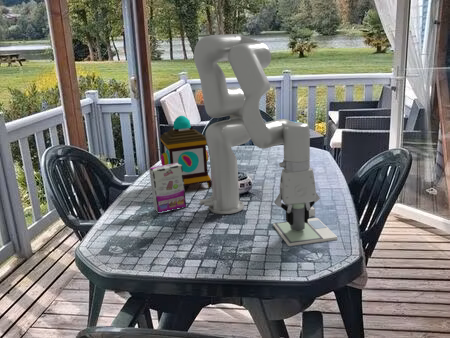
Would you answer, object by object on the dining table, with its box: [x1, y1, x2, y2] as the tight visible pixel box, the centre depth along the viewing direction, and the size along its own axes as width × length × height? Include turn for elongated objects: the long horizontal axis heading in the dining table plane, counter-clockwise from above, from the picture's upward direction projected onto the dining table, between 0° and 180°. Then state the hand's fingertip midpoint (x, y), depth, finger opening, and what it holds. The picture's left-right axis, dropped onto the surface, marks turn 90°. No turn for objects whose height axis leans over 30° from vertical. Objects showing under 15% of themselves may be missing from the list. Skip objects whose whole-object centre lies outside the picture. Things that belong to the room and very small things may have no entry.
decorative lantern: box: [159, 115, 212, 188], centre depth 184 cm, size 20×20×30 cm
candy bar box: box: [148, 163, 187, 213], centre depth 160 cm, size 11×5×16 cm, turn 117°
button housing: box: [309, 206, 316, 218], centre depth 150 cm, size 6×6×3 cm
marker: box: [290, 203, 305, 231], centre depth 134 cm, size 4×4×9 cm
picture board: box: [272, 217, 339, 247], centre depth 136 cm, size 15×16×1 cm
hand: (297, 221), depth 135 cm, fingers closed on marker, 4 cm apart
